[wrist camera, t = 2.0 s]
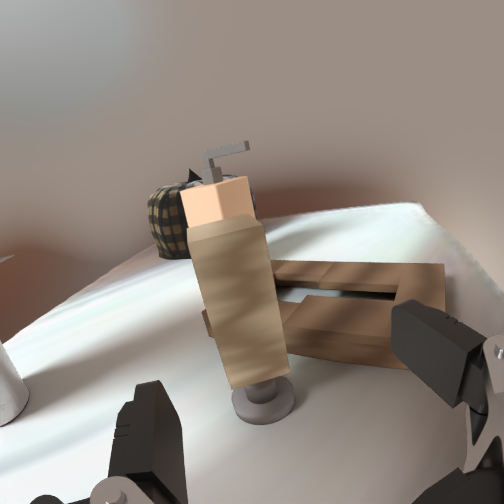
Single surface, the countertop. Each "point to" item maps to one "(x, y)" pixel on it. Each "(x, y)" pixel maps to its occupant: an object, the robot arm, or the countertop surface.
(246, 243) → the birch peg
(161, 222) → the decorative pumpkin
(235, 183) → the soap dispenser
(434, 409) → the countertop surface
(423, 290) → the walnut keyhole board
